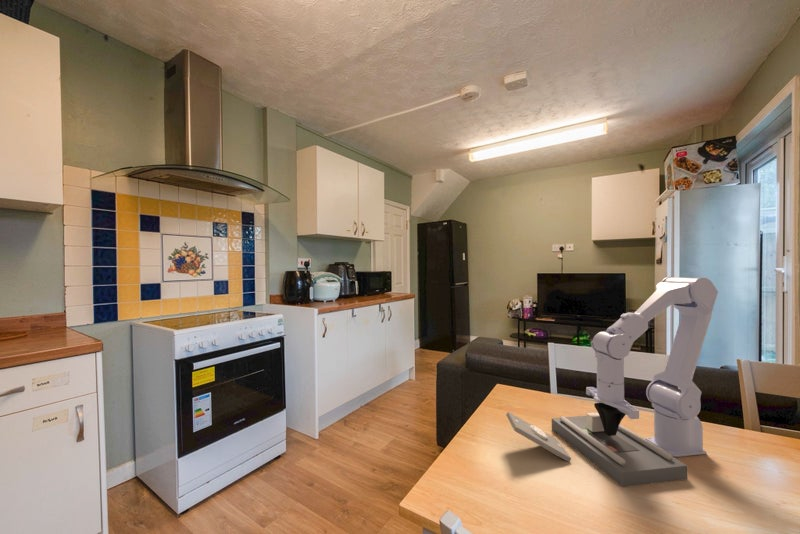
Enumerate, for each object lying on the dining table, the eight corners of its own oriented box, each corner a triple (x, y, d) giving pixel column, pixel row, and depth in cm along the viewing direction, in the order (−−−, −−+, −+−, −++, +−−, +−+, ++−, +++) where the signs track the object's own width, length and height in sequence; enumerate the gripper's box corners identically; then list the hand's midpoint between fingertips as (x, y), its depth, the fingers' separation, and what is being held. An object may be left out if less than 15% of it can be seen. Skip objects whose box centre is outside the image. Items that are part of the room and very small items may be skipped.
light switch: (573, 455, 74) (518, 423, 75) (561, 476, 74) (506, 444, 75) (558, 436, 82) (509, 408, 84) (547, 455, 83) (498, 426, 84)
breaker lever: (603, 426, 84) (603, 411, 84) (609, 430, 82) (609, 415, 82) (586, 428, 83) (586, 413, 83) (592, 432, 81) (592, 416, 81)
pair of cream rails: (600, 416, 90) (600, 412, 90) (673, 460, 70) (673, 454, 70) (558, 420, 88) (558, 415, 88) (620, 466, 68) (620, 459, 68)
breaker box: (601, 424, 92) (601, 414, 92) (687, 479, 68) (687, 465, 68) (551, 428, 90) (551, 418, 90) (622, 486, 66) (622, 472, 66)
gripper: (575, 371, 85) (576, 421, 85) (619, 392, 71) (620, 452, 71) (599, 370, 86) (599, 419, 86) (647, 390, 72) (647, 449, 72)
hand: (610, 434), depth 79 cm, fingers closed
